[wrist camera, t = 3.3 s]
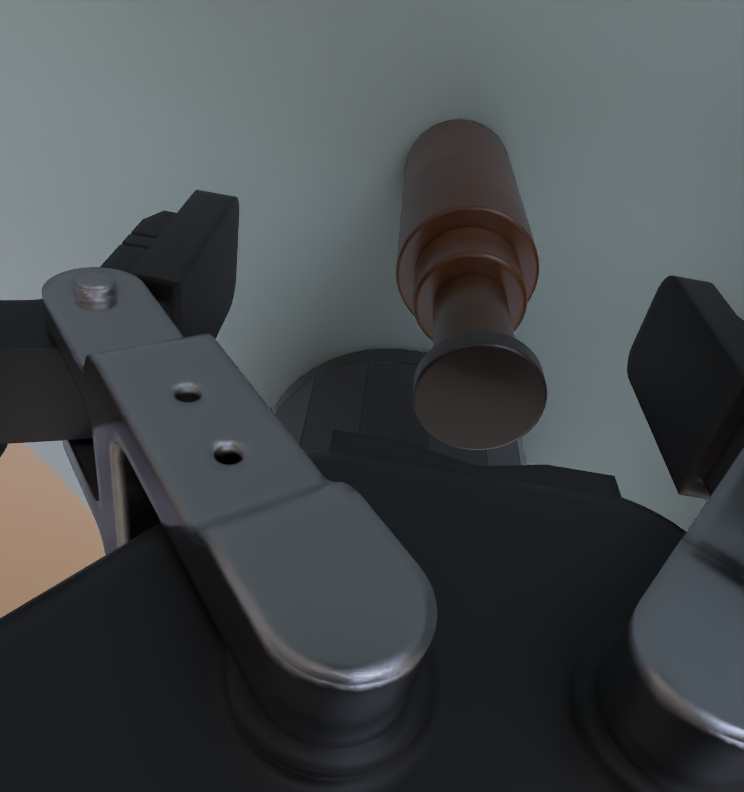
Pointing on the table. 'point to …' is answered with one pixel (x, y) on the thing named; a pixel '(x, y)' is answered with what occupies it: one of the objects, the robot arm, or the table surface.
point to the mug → (371, 406)
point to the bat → (469, 288)
